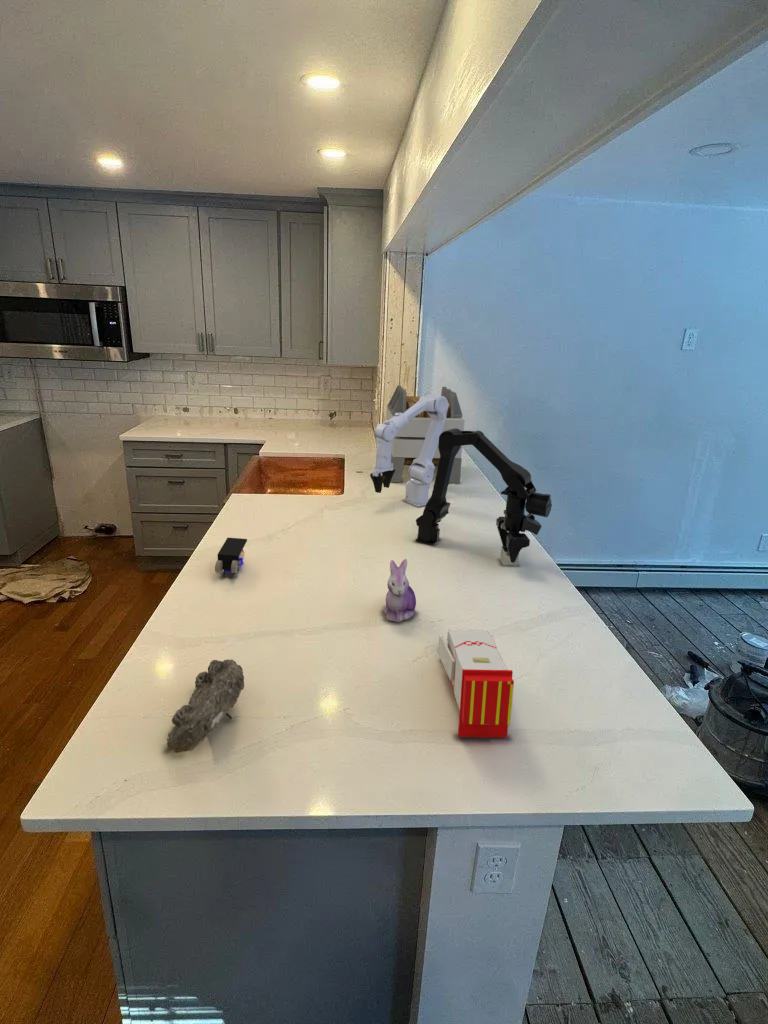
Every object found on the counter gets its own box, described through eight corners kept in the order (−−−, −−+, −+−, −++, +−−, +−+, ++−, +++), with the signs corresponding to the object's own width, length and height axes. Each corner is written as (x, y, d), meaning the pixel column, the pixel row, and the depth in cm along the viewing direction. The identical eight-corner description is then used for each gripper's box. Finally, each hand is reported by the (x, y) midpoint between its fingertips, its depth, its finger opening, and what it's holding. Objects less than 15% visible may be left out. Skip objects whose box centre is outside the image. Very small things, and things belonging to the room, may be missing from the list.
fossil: (192, 660, 117) (244, 628, 112) (224, 691, 120) (276, 661, 115) (142, 746, 98) (202, 712, 93) (182, 779, 101) (242, 748, 96)
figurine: (392, 627, 141) (395, 572, 136) (374, 608, 149) (376, 556, 144) (425, 619, 145) (429, 566, 140) (405, 601, 154) (408, 550, 149)
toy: (488, 613, 130) (523, 677, 101) (484, 667, 133) (517, 744, 104) (435, 612, 130) (455, 676, 101) (432, 666, 133) (451, 743, 103)
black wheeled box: (238, 584, 162) (249, 557, 175) (236, 562, 158) (247, 536, 172) (215, 584, 161) (227, 556, 175) (212, 561, 158) (225, 535, 171)
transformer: (382, 463, 289) (386, 382, 275) (445, 464, 293) (451, 384, 279) (390, 482, 257) (394, 392, 243) (460, 483, 261) (468, 394, 247)
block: (502, 565, 179) (504, 551, 177) (499, 559, 183) (501, 546, 181) (517, 565, 179) (519, 552, 177) (514, 560, 183) (516, 546, 181)
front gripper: (550, 521, 166) (542, 569, 172) (532, 500, 184) (526, 545, 189) (512, 520, 166) (506, 568, 171) (498, 499, 183) (493, 544, 189)
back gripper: (385, 461, 207) (383, 496, 212) (400, 453, 220) (399, 486, 224) (368, 458, 210) (366, 493, 215) (384, 450, 222) (382, 483, 227)
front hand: (509, 556), depth 180 cm, fingers open, 9 cm apart
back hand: (382, 489), depth 220 cm, fingers open, 7 cm apart
